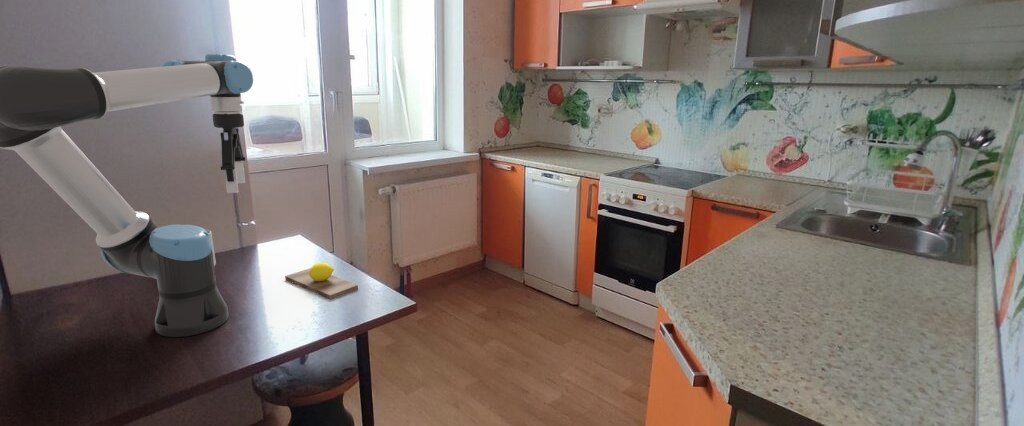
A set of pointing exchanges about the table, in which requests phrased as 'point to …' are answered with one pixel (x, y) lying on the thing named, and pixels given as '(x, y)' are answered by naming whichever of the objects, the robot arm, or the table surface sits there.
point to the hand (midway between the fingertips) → (236, 187)
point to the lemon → (320, 271)
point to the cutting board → (322, 284)
